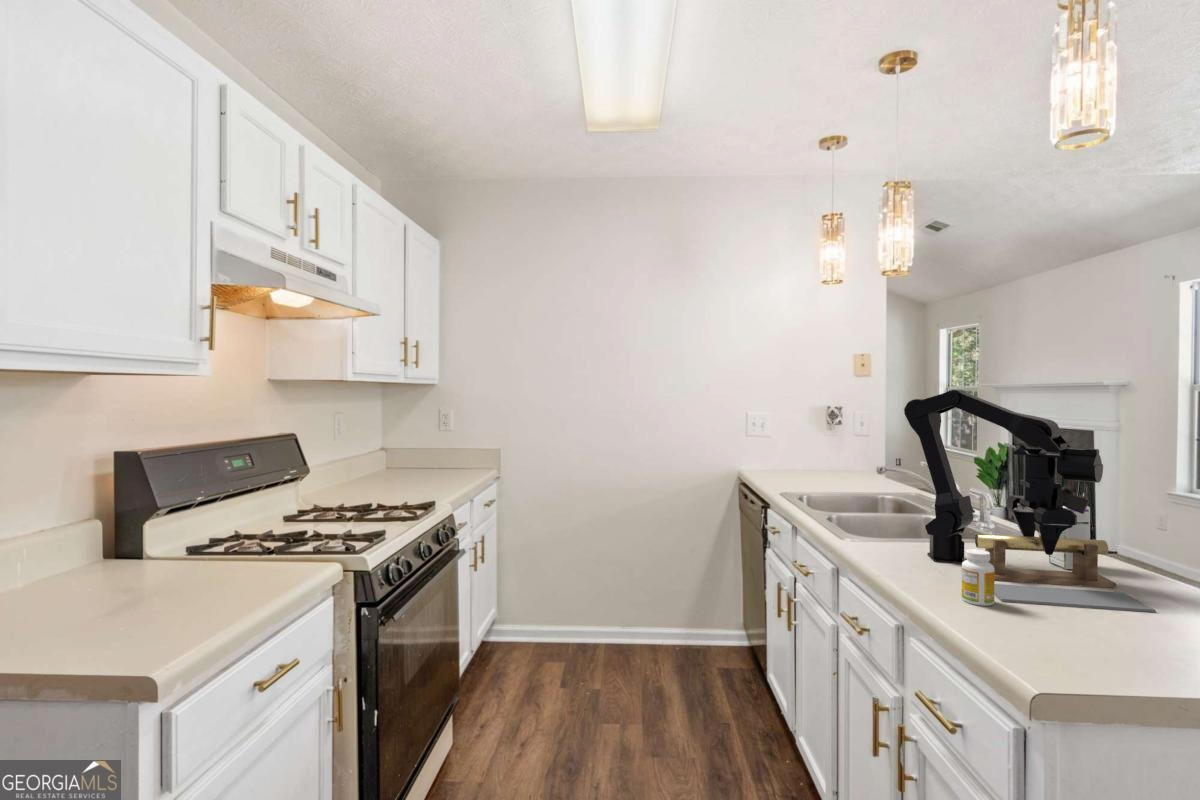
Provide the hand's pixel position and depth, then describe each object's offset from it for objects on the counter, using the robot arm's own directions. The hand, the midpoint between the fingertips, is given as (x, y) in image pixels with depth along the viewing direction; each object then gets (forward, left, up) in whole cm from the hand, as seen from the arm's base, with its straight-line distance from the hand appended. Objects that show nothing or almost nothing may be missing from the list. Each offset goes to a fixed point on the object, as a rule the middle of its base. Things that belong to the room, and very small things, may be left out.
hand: (1038, 549), depth 132 cm
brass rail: (0, 0, 0) cm, 0 cm away
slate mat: (-1, -13, -6) cm, 15 cm away
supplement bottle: (-18, -19, -7) cm, 27 cm away
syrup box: (+11, +12, -7) cm, 18 cm away
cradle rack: (0, 0, -6) cm, 6 cm away
